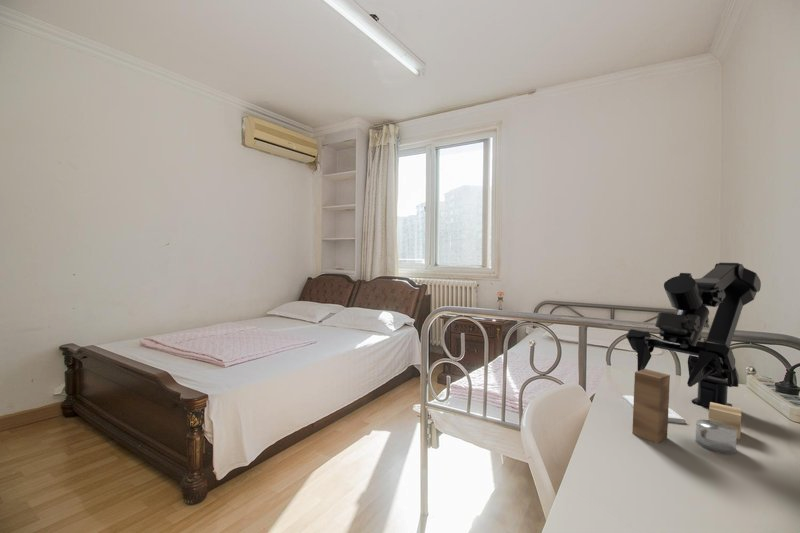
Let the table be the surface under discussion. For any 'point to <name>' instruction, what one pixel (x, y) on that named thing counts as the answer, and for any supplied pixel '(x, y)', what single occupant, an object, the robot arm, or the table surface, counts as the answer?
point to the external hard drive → (671, 414)
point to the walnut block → (651, 405)
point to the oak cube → (726, 416)
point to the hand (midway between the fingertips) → (662, 378)
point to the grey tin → (716, 437)
